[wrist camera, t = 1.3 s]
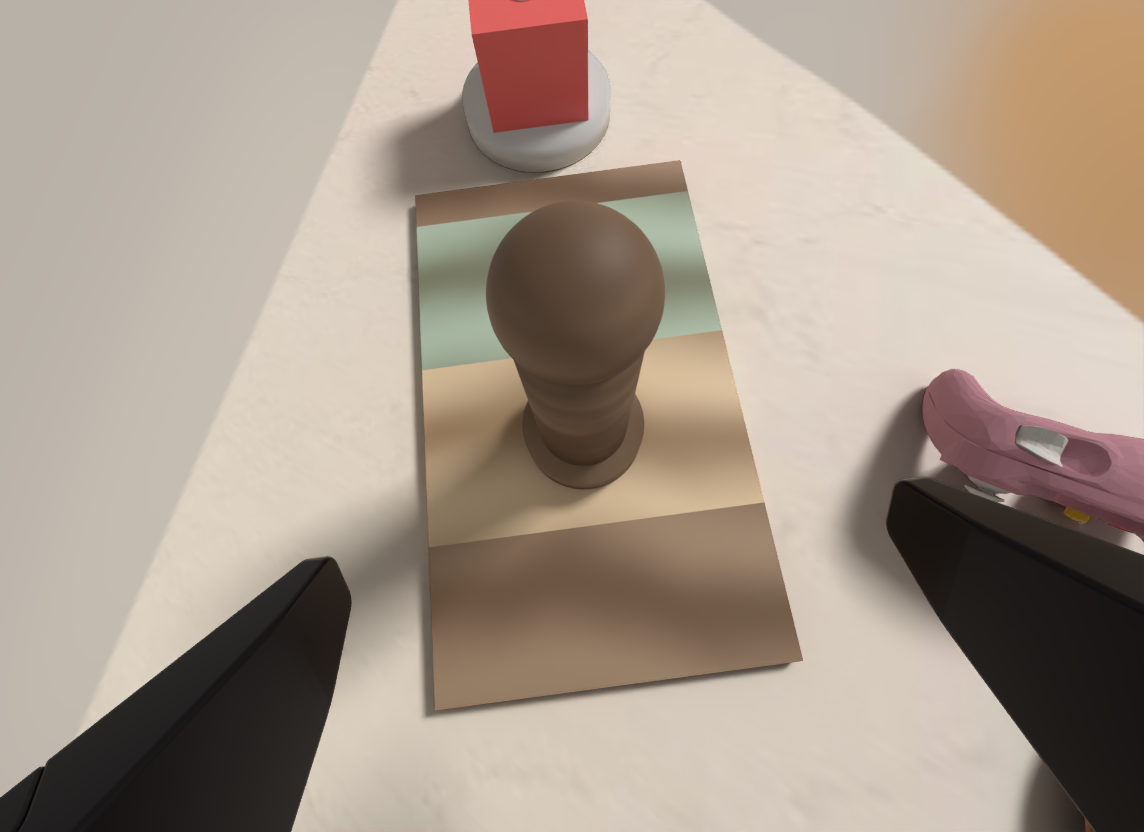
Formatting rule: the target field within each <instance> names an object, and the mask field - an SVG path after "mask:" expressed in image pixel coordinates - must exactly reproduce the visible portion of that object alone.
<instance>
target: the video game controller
mask: <svg viewBox="0 0 1144 832" xmlns="http://www.w3.org/2000/svg"><path fill="white" fill-rule="evenodd" d="M922 414H923V421H924V425H925V428H926V431H927V434H928V436H929V437H930V439H931V441H932V443H933V444H934V446H935V447H936V448H937V450H938V451H939V452H940V453H941V454H942V455H941V458H940V460H942V461H944V462H946V463H948V464H951V465H953V466H956V467H957V468H958V469H959V470H960V471H962V472H963V473H964V474H966V475H968V477H969V479H970V480H971V481H972V482H973V483H974V484H975V485H976V486H977V488H974V487H971V486H968V485H965V488H966V489H967V490H968V491H969V492H971V493H973V494H975V495H978V496H981V497H984V498H987V499H989V500H992V501H995V502H1004V500H1003V499H1001V498H999V497H997V496H995V495H994V493H1001V494H1007V493H1014V494H1018V495H1035V496H1037V497H1040V498H1043V499H1046V500H1049V501H1053V502H1056V503H1058V504H1061V505H1063V506H1066V509H1065V511H1064V514H1065V515H1066V516H1067V517H1069V518H1071V519H1073V520H1075V521H1079V522H1084V523H1086V522H1088V521H1089V520H1090V518H1091V517H1095V518H1097V519H1100V520H1102V521H1105V522H1107V523H1108V524H1109V525H1112V526H1114V527H1117V528H1119V529H1122V530H1125V531H1128V532H1130V533H1134V534H1136V535H1137V536H1138V537H1140V538H1141V539H1142V541H1143V542H1144V439H1141V438H1134V437H1128V436H1122V435H1115V434H1102V433H1093V432H1089V431H1085V430H1082V429H1079V428H1076V427H1073V426H1069V425H1066V424H1063V423H1060V422H1057V421H1054V420H1050V419H1046V418H1042V417H1038V416H1033V415H1029V414H1025V413H1021V412H1017V411H1014V410H1011V409H1009V408H1006V407H1003V406H1001V405H1000V404H998V403H997V402H995V401H994V400H993V399H992V398H991V397H990V396H989V395H988V394H987V393H986V392H985V391H984V390H983V388H982V387H981V386H980V385H979V383H978V382H977V381H976V379H975V378H974V377H973V376H972V375H970V374H969V373H967V372H965V371H962V370H958V369H950V370H948V371H945V372H942V373H941V374H940V375H939V376H937V377H936V378H935V379H934V380H933V381H932V382H931V383H930V385H929V386H928V387H927V389H926V392H925V395H924V399H923V408H922Z"/></svg>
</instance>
